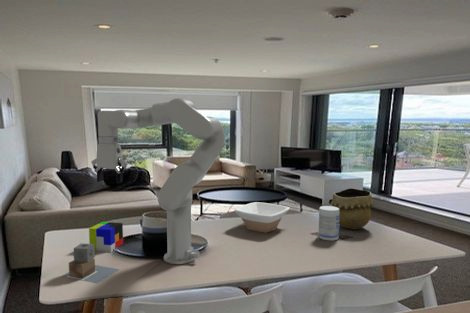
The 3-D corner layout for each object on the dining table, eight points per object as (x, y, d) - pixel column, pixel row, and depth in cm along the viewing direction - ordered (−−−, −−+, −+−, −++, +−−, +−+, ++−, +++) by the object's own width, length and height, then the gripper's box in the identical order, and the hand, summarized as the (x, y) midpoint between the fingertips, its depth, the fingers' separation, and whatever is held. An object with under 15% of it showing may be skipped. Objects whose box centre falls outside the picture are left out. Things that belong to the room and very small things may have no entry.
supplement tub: (340, 241, 161) (341, 210, 159) (320, 241, 161) (321, 210, 160) (336, 234, 170) (337, 205, 169) (316, 234, 171) (317, 205, 170)
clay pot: (353, 237, 167) (354, 196, 165) (321, 225, 186) (323, 189, 184) (381, 230, 177) (383, 192, 175) (349, 220, 196) (350, 185, 194)
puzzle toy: (111, 252, 146) (110, 229, 145) (89, 251, 148) (89, 228, 147) (123, 244, 156) (122, 223, 155) (103, 243, 158) (102, 221, 157)
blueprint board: (120, 270, 128) (120, 269, 128) (97, 285, 117) (97, 283, 117) (85, 264, 134) (85, 263, 134) (60, 277, 122) (60, 276, 122)
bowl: (230, 230, 178) (230, 209, 177) (255, 219, 198) (255, 201, 197) (270, 239, 164) (271, 217, 163) (293, 226, 184) (293, 206, 183)
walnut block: (95, 271, 126) (94, 258, 125) (82, 278, 120) (82, 265, 120) (81, 269, 128) (81, 256, 127) (69, 276, 122) (68, 262, 122)
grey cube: (94, 257, 127) (94, 243, 126) (87, 262, 122) (87, 248, 121) (81, 256, 127) (81, 243, 127) (74, 261, 122) (73, 248, 122)
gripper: (131, 140, 142) (132, 181, 144) (97, 140, 148) (99, 179, 150) (120, 141, 135) (121, 184, 137) (84, 140, 141) (86, 182, 143)
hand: (109, 181), depth 143 cm, fingers open, 9 cm apart
